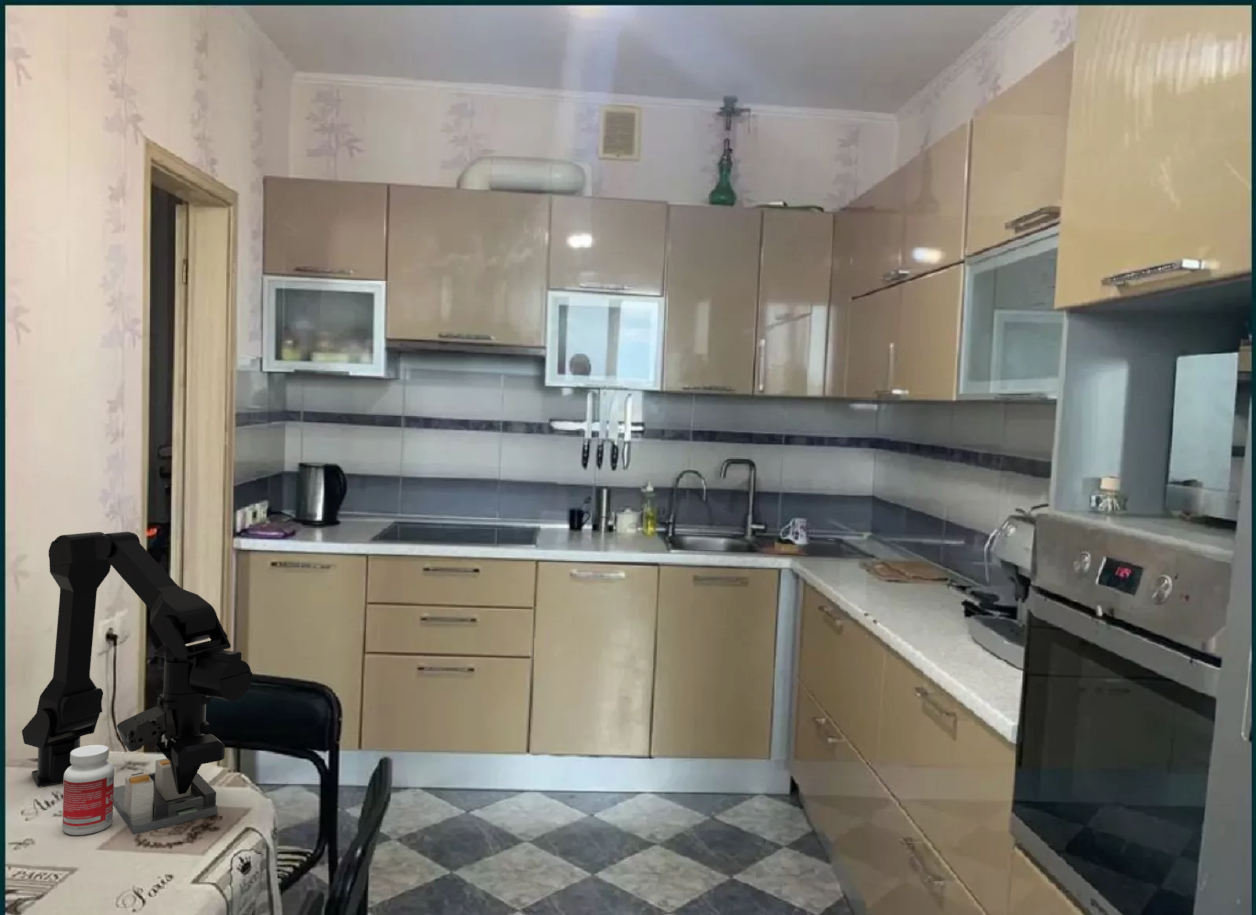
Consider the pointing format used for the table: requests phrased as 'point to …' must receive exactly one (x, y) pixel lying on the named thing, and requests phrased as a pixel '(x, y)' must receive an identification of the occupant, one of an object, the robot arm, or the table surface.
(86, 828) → the pill bottle
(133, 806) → the grey desk organizer
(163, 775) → the block
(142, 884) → the table surface
